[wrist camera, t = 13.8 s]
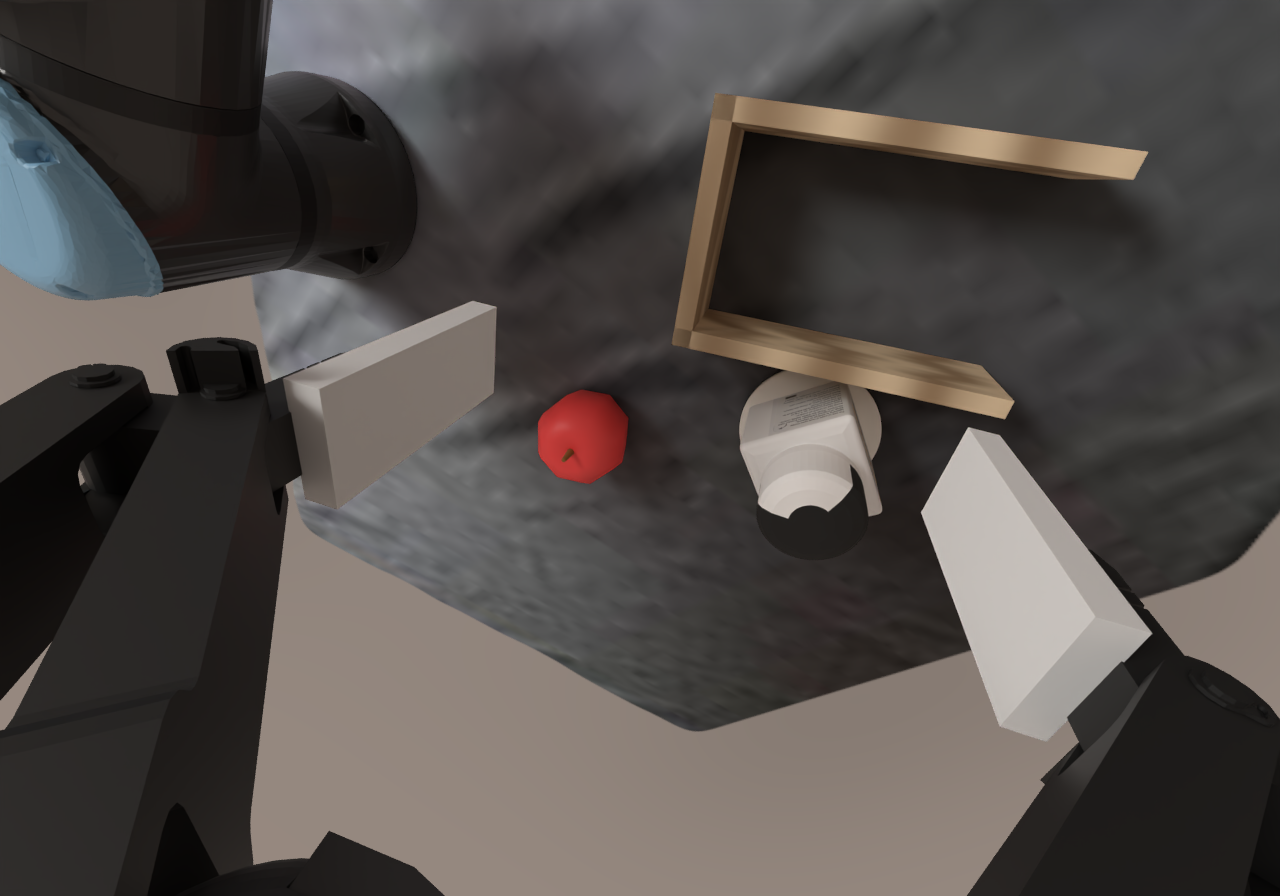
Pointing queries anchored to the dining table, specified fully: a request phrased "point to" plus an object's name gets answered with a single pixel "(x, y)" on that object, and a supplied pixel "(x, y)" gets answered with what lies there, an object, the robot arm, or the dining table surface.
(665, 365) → the dining table surface
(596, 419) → the apple
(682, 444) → the dining table surface
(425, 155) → the dining table surface
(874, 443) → the trivet
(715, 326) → the tan open-ended frame
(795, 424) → the container
